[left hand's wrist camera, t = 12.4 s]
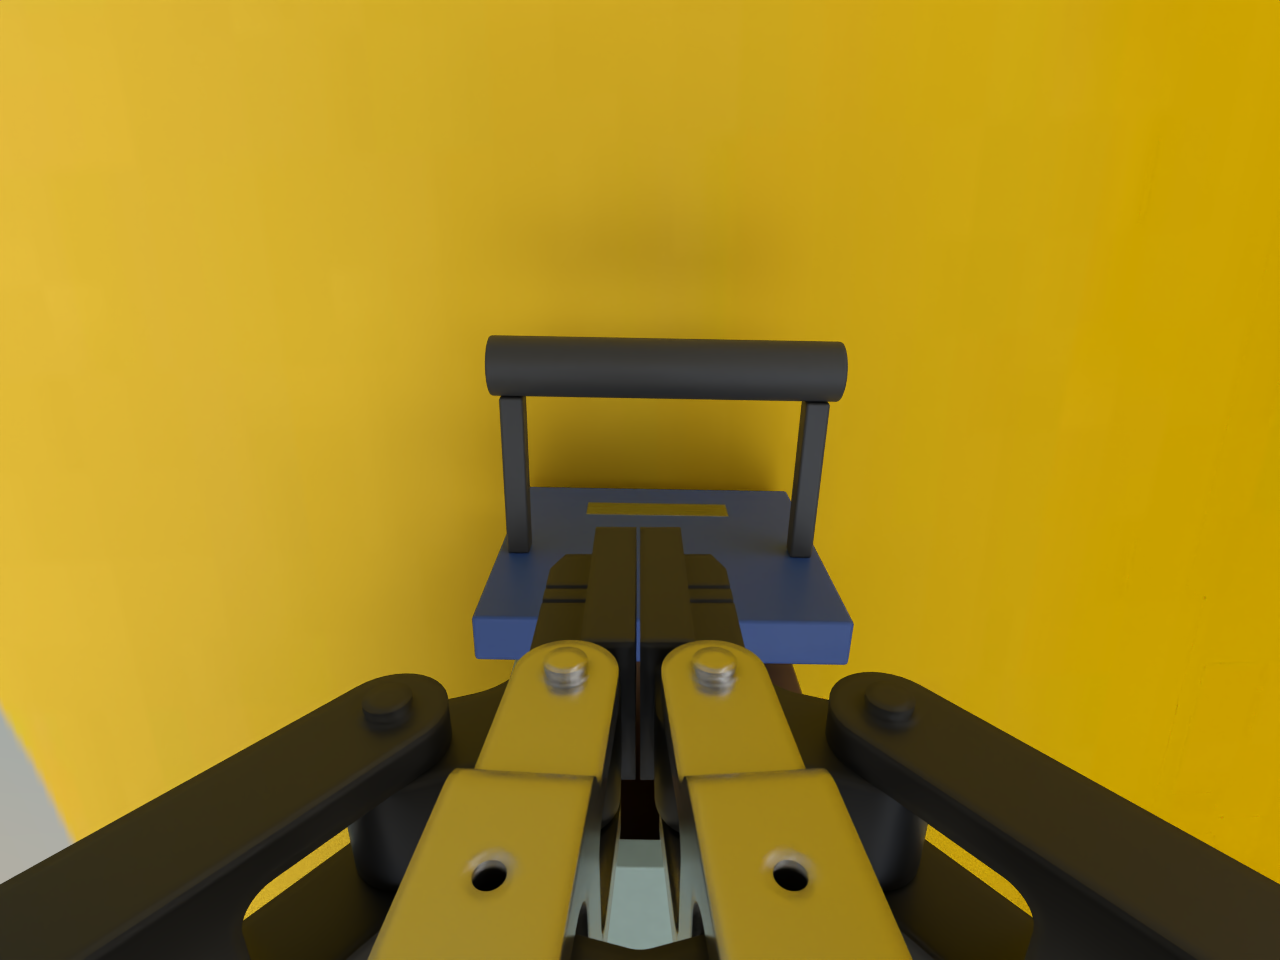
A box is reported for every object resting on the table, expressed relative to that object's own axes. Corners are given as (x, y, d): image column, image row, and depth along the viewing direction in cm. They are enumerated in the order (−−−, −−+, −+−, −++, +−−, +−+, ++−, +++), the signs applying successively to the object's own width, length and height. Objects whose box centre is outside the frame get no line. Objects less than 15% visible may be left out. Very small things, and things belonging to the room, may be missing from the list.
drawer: (517, 309, 21) (450, 364, 14) (804, 315, 21) (894, 373, 14) (541, 857, 30) (508, 1077, 22) (748, 860, 30) (785, 1080, 22)
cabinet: (520, 637, 27) (457, 865, 18) (780, 641, 27) (854, 870, 18) (537, 960, 33) (498, 1247, 24) (745, 962, 34) (785, 1250, 24)
